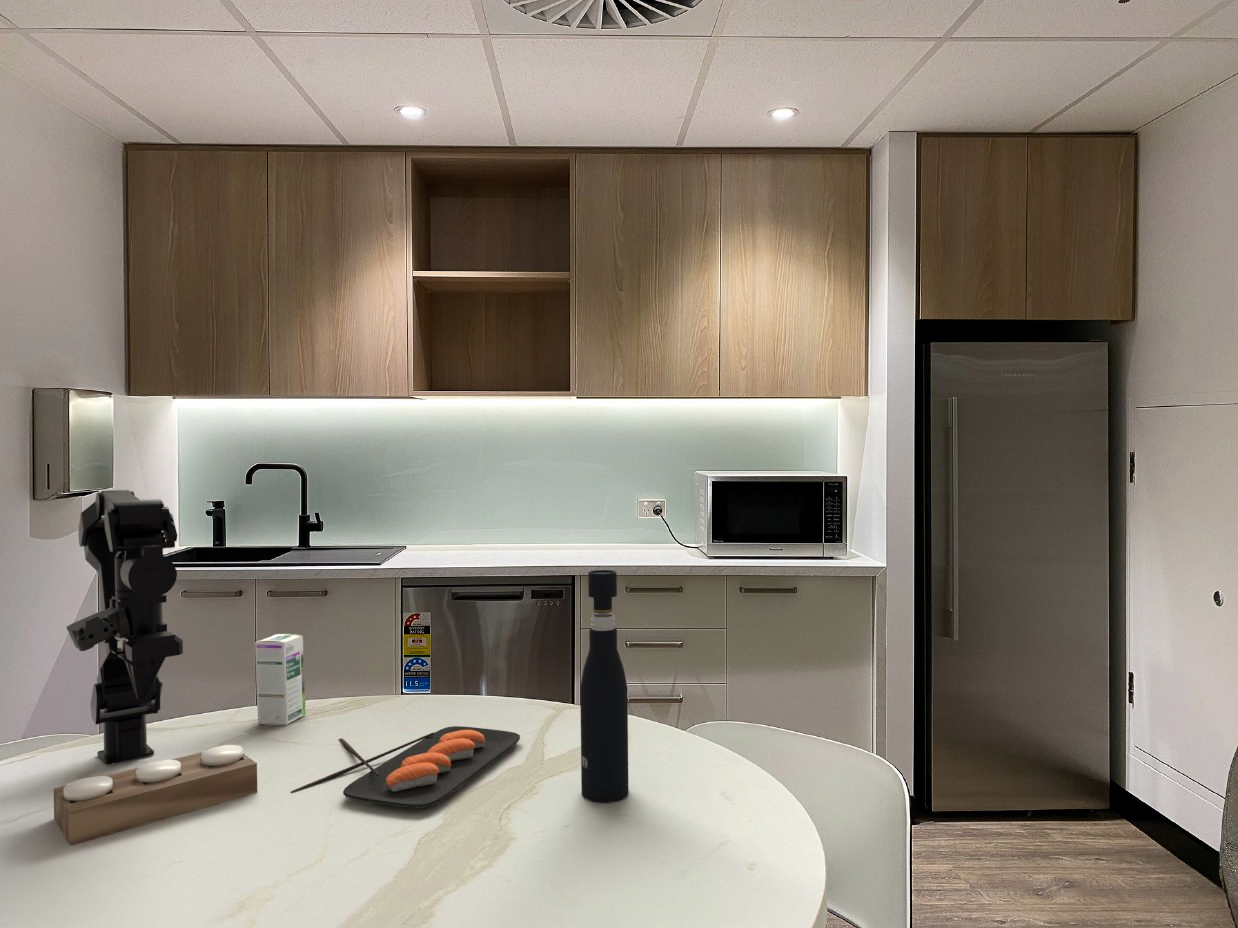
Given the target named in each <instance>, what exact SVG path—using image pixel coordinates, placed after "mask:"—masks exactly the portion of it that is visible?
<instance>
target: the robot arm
mask: <svg viewBox="0 0 1238 928" xmlns="http://www.w3.org/2000/svg"><path fill="white" fill-rule="evenodd" d="M177 539H178V532H177V528H176V524H175V520H174V516H173V514H172V513H171V512H170V508H169V507H168V506H165V504H164V502H163V500H162V499H160V498H158V499H156V498H155V499H154V498H153V499H140V498H139V497H137V496H136V495H135V493H134V490H129V489H117V490H116V489H115V490H114V489H113V490H101V491H100V492H96V494H95V500H94V502H92V503H91V504H90V505H89V506H87V507H86V508H85V509H84V510H82V512H80V517H79V524H78V545H79V547H80V548H81V547H83V551H84V559H85V561H86V562H87V563H88V564H89V565H90V567H92V568H93V569H94V570H95V572H97V573H98V583H99V584H98V585H99V592H100V594H99V595H100V604H101V611H97V612H95V613H93V614H90V615H89V616H87V617H86V616H85V617H84V618H81V619H80V620H77V621H75V622H73V623H71V624H69V625H67V626H66V627H65V628H66V630H67V632H68V634H69V636H70V639H71V641H72V643H73V645H74V647H75V648H76V649H78V651H79V652H85V651H88V650H90V649H93V648H94V646H96V645H98V644H100V643H103V644H105V654H106V657H105V660H104V661H103V663H102V664H101V667H100V669H99V671H98V674H97V677H96V683H93V687H92V693H91V698H90V699H91V700H90V716H91V719H92V721H93V722H94V724H95V725H100V724H103V726H102V727H103V750H99V751H97V757H99V759H100V760H101V761H102V762H103V763H104V764H105V765H106V766H110V765H114V764H118V763H122V762H127V761H131V760H135V759H140V758H144V757H147V756H148V757H149V756H153V755H155V750H154V749H153V748H152V747H151V746H150V745H148V743H147V742H148V741H147V739H148V738H147V715H151V714H154V715H155V714H158V713H159V711H160V710H161V696H162V691H163V682H162V681H160V679H159V676H158V674H159V672H160V670H161V668H162V665H164V664H163V663H164V662H165V660H166V658H169V657H175V656H176V657H177V656H180V655H183V654H184V651H183V650H184V647H183V645H184V644H183V639H182V638H181V637H180V636H178V635H176V634H175V633H173V632H171V631H169V630H168V624H167V623H166V622H164V618H163V617H164V616H163V611H164V610H163V603H167V593H168V592H169V591H170V590H172V588H173V587H174V586H175V583H176V581H177V578H178V577H177V576H178V573H177V572H178V570H177V568H176V566H175V564H174V563H173V561H172V560H170V558H168V557H167V556H164V549H172V548H175V547H176V542H177V541H178V540H177ZM101 710H102V711H101Z"/></svg>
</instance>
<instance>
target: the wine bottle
mask: <svg viewBox="0 0 1238 928" xmlns="http://www.w3.org/2000/svg"><path fill="white" fill-rule="evenodd" d="M587 577H588V578H587V579H588V580H587V581H588V585H587V586H588V589H587V591H588V593H587V594H588V597H589V598H593V608H592V612H593V613H594V614H592V615H591V618H590V621H591V623H590V626H591V628H589V631H588V632H589V633H588V635H589V645H588V646H589V648H588V649H589V650H588V653H587V655H586V659H585V662H584V665H583V669H582V672H581V673H582V674H581V680H580V687H579V692H580V694H579V696H580V700H579V701H580V702H579V703H580V705H579V706H580V707H579V708H580V767H581V769H580V773H581V774H580V775H581V776H580V778H581V783H580V785H581V796H582V797H583V798H584V799H586V800H588V801H590V802H593V803H602V804H606V803H613V802H614V803H615V802H618V801H621V800H624V799H625V798H627V796H628V795H629V792H630V791H629V785H630V784H629V723H628V720H629V717H628V712H629V711H628V705H629V704H628V698H629V697H628V683H627V678H626V672H625V669H624V665H623V662H622V659H621V656H620V653H619V651H618V630H617V628H616V627H615V626H616V622H615V621H616V618H615V614H613V613H611V612H613V610H614V609H613V598H616V597H617V595H618V593H617V592H618V590H617V589H618V585H617V584H618V582H617V581H618V578H617V577H618V576H617V571H616V570H611V569H610V570H609V569H597V570H591V571H588V573H587Z"/></svg>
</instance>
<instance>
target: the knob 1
mask: <svg viewBox="0 0 1238 928" xmlns="http://www.w3.org/2000/svg"><path fill="white" fill-rule="evenodd" d="M65 785H66V786H65V787H64V799H66V800H70V801H72V803H75V802H79V801H83V800H87V799H92V798H96V797H99V796H103V795H105V794H106V793H108V792H110V791H111V790H112V788H113V783H112V778H110V777H107V776H105V775H102V776H101V775H98V776H90V777H84V778H80V779H77V780H74V781H72V782H70V783H68V784H65Z"/></svg>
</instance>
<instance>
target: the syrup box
mask: <svg viewBox="0 0 1238 928" xmlns="http://www.w3.org/2000/svg"><path fill="white" fill-rule="evenodd" d="M254 647H255V649H254V650H255V651H254V652H255V675H256V676H255V678H256V681H255V682H256V699H257V702H256V703H257V705H256V706H257V723H258V724H261V725H270V726H288V725H290V724H291V723H292V722H294V721H297V720H298V719H300V718H301V717H304V716H306V694H305V693H306V692H305V691H306V690H305V688H306V687H305V686H306V685H305V663H304V659H305V658H304V638H303V635H301V634H297V633H282V634H281V633H277V634H273V635H272V636H269V637H265V638H263V639H260V640H257V641H255V643H254Z"/></svg>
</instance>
